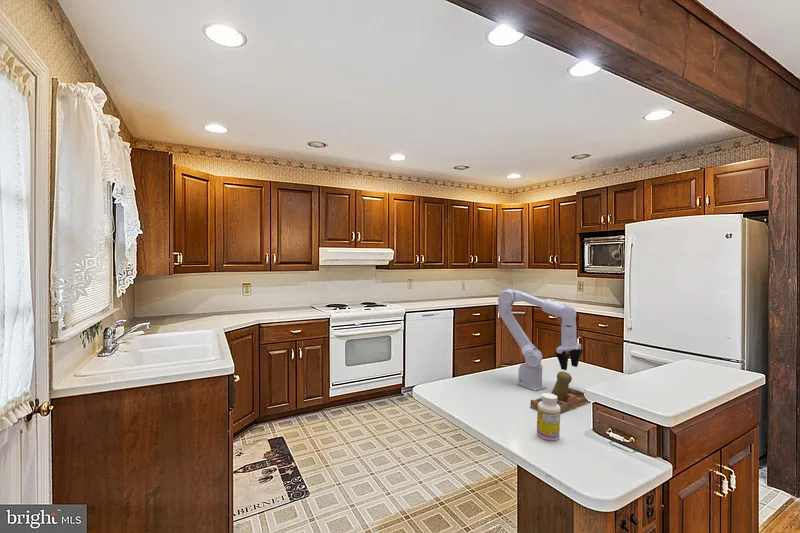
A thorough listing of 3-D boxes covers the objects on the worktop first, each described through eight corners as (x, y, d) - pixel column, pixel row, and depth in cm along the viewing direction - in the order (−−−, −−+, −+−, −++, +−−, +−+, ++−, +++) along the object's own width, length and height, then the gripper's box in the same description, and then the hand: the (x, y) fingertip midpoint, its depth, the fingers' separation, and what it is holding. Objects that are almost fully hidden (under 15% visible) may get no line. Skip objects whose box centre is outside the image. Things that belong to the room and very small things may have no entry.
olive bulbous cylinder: (568, 405, 137) (576, 378, 135) (552, 401, 138) (559, 375, 135) (564, 396, 143) (571, 371, 141) (548, 393, 144) (555, 367, 141)
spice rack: (530, 407, 136) (530, 395, 136) (568, 394, 150) (569, 383, 150) (552, 416, 129) (552, 404, 129) (590, 402, 143) (591, 390, 143)
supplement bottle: (538, 429, 119) (540, 390, 119) (560, 434, 116) (562, 394, 116) (534, 437, 113) (536, 396, 113) (557, 443, 110) (559, 401, 110)
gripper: (567, 339, 145) (568, 373, 145) (587, 334, 153) (588, 367, 153) (551, 336, 151) (552, 369, 151) (571, 332, 159) (572, 363, 159)
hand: (569, 368), depth 152 cm, fingers open, 7 cm apart
